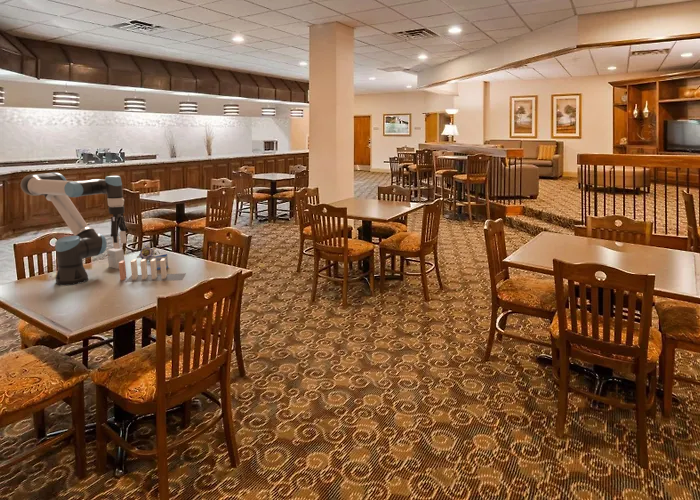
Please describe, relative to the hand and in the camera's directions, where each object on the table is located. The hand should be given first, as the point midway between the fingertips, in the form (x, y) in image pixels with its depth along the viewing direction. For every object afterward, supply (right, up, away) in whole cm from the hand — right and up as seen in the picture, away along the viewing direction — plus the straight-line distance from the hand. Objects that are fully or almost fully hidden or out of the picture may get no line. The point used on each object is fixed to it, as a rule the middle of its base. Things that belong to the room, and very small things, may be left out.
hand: (120, 245), depth 268 cm
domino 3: (+16, -17, +6) cm, 24 cm away
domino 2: (+11, -17, +6) cm, 21 cm away
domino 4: (+21, -17, +7) cm, 28 cm away
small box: (-15, -12, +29) cm, 35 cm away
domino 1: (+6, -17, +5) cm, 19 cm away
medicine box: (+12, -13, +26) cm, 31 cm away
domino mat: (+17, -18, +7) cm, 25 cm away
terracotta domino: (0, -18, +4) cm, 19 cm away
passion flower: (-1, -9, +42) cm, 43 cm away
